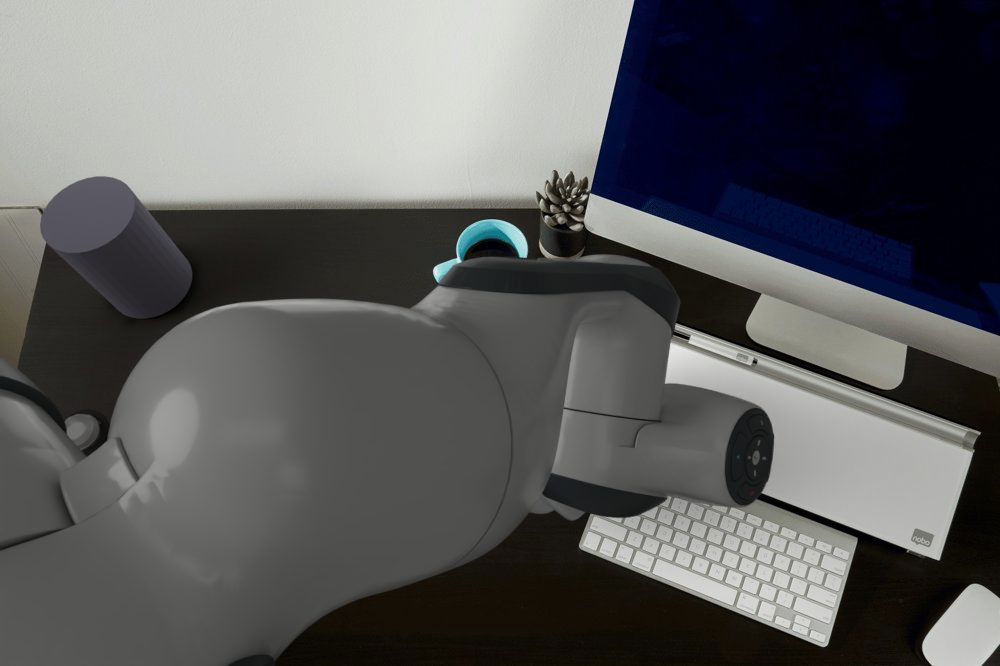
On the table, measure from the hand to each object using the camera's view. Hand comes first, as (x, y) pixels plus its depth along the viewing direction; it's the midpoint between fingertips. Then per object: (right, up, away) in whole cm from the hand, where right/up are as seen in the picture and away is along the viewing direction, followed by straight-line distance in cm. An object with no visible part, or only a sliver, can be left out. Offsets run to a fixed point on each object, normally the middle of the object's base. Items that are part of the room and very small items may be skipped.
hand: (522, 404), depth 76 cm
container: (-47, +14, +17) cm, 51 cm away
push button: (-45, -7, +6) cm, 46 cm away
